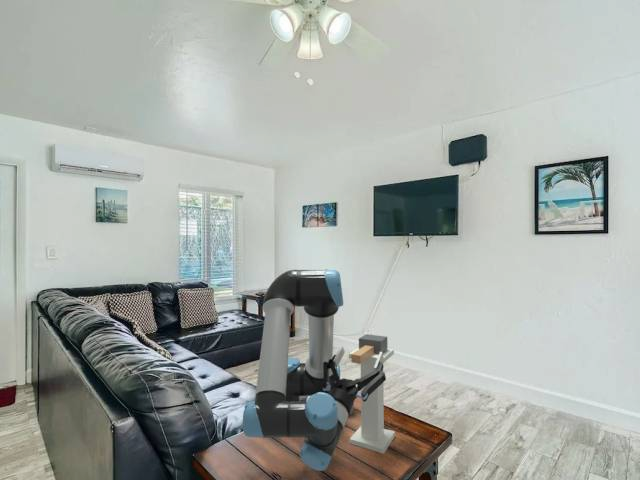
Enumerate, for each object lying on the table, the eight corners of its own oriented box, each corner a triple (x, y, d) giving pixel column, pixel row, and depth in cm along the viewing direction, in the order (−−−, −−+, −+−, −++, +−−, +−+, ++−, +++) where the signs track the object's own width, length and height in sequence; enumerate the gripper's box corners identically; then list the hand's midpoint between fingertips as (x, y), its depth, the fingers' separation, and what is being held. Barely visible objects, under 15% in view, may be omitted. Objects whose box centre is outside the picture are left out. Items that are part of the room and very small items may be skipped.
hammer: (367, 365, 104) (367, 350, 104) (344, 361, 108) (344, 346, 108) (387, 349, 120) (387, 336, 121) (366, 346, 124) (366, 334, 124)
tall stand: (383, 453, 109) (382, 358, 110) (349, 443, 115) (348, 353, 116) (394, 435, 119) (393, 349, 120) (363, 427, 125) (362, 345, 126)
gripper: (301, 407, 101) (330, 354, 117) (382, 428, 89) (401, 366, 105) (294, 389, 98) (325, 338, 114) (377, 409, 86) (397, 348, 102)
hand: (361, 351), depth 110 cm, fingers open, 13 cm apart
